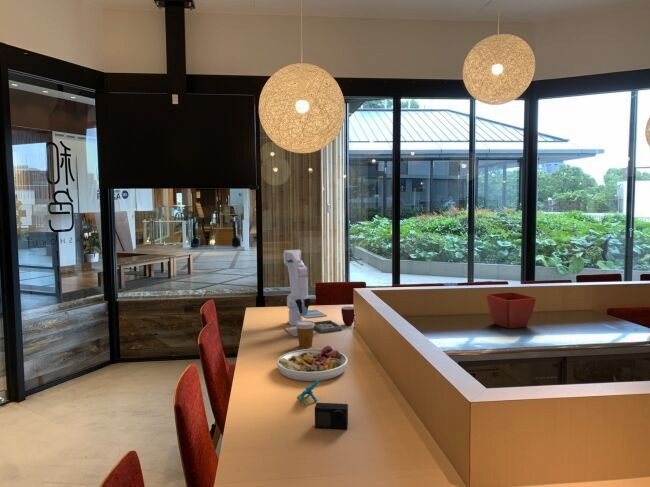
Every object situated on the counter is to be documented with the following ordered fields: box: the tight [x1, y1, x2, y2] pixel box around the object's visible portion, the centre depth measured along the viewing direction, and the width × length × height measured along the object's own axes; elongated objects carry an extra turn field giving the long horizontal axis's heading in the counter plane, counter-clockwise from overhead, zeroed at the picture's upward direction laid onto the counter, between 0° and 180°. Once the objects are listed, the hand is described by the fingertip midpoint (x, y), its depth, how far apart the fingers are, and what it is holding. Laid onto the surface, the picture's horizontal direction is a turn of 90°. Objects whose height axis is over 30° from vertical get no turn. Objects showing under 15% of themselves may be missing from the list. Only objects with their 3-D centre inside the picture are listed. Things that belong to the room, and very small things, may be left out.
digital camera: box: [314, 402, 349, 431], centre depth 153 cm, size 10×5×7 cm, turn 82°
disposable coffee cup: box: [295, 319, 315, 349], centre depth 238 cm, size 10×10×12 cm
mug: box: [340, 306, 355, 327], centre depth 276 cm, size 10×8×10 cm
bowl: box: [276, 345, 348, 382], centre depth 205 cm, size 30×30×8 cm
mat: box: [284, 326, 318, 338], centre depth 265 cm, size 16×13×1 cm
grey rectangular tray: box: [313, 319, 343, 334], centre depth 271 cm, size 16×12×2 cm
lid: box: [296, 306, 328, 320], centre depth 267 cm, size 16×12×5 cm
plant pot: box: [486, 291, 537, 329], centre depth 270 cm, size 19×19×17 cm
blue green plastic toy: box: [296, 381, 320, 407], centre depth 173 cm, size 11×6×10 cm
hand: (303, 312), depth 265 cm, fingers closed on lid, 2 cm apart
